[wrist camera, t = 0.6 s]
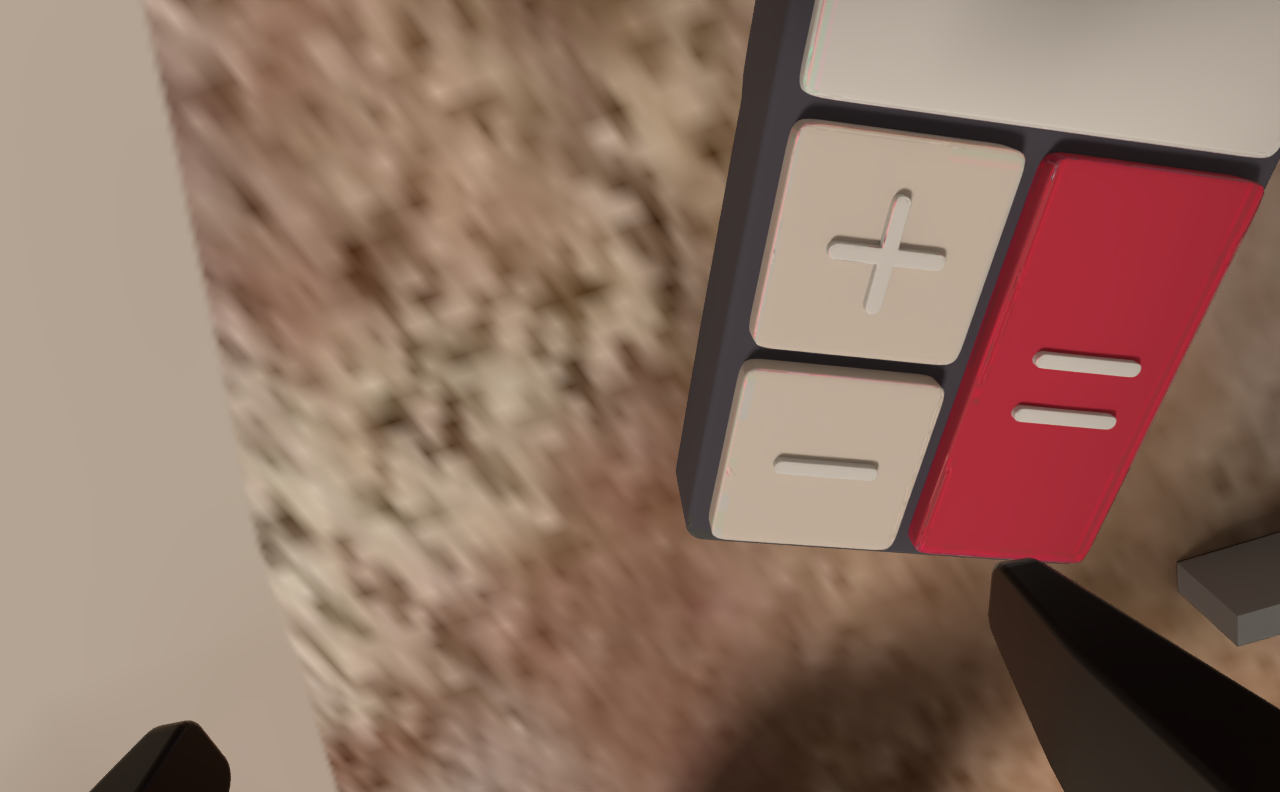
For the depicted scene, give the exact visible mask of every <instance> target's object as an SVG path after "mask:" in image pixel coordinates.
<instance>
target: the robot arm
mask: <svg viewBox="0 0 1280 792" xmlns="http://www.w3.org/2000/svg"><path fill="white" fill-rule="evenodd" d="M988 617H989V623H990V628H991V631H992V634H993V636H994V639H995V641H996V643H997V646H998V648H999V650H1000V652H1001V655H1002V657H1003V659H1004V662H1005V664H1006V666H1007V668H1008V671H1009V673H1010V675H1011V678H1012V680H1013V682H1014V684H1015V687H1016V689H1017V691H1018V694H1019V696H1020V698H1021V700H1022V703H1023V705H1024V707H1025V710H1026V712H1027V714H1028V716H1029V719H1030V721H1031V723H1032V726H1033V728H1034V730H1035V733H1036V735H1037V737H1038V739H1039V742H1040V744H1041V746H1042V748H1043V750H1044V753H1045V755H1046V757H1047V759H1048V761H1049V763H1050V766H1051V768H1052V769H1053V771H1054V773H1055V775H1056V777H1057V779H1058V781H1059V783H1060V784H1061V786H1062V788H1063V790H1064V792H1280V709H1279V708H1277V707H1275V706H1274V705H1272V704H1271V703H1269V702H1267V701H1266V700H1264V699H1262V698H1261V697H1259V696H1258V695H1256V694H1254V693H1253V692H1251V691H1250V690H1248V689H1246V688H1245V687H1243V686H1241V685H1240V684H1238V683H1237V682H1235V681H1233V680H1232V679H1230V678H1229V677H1227V676H1225V675H1224V674H1222V673H1220V672H1219V671H1217V670H1216V669H1214V668H1212V667H1211V666H1209V665H1208V664H1206V663H1204V662H1203V661H1201V660H1200V659H1198V658H1196V657H1195V656H1193V655H1191V654H1190V653H1188V652H1187V651H1185V650H1183V649H1182V648H1180V647H1179V646H1177V645H1175V644H1174V643H1172V642H1170V641H1169V640H1167V639H1166V638H1164V637H1162V636H1161V635H1159V634H1158V633H1156V632H1154V631H1153V630H1151V629H1149V628H1148V627H1146V626H1145V625H1143V624H1141V623H1140V622H1138V621H1137V620H1135V619H1133V618H1132V617H1130V616H1129V615H1127V614H1125V613H1124V612H1122V611H1120V610H1119V609H1117V608H1116V607H1114V606H1112V605H1111V604H1109V603H1108V602H1106V601H1104V600H1103V599H1101V598H1099V597H1098V596H1096V595H1095V594H1093V593H1091V592H1090V591H1088V590H1087V589H1085V588H1083V587H1082V586H1080V585H1079V584H1077V583H1075V582H1074V581H1072V580H1070V579H1069V578H1067V577H1066V576H1064V575H1062V574H1061V573H1059V572H1058V571H1056V570H1054V569H1053V568H1051V567H1049V566H1048V565H1046V564H1045V563H1043V562H1041V561H1039V560H1037V559H1034V558H1030V557H1027V558H1020V559H1015V560H1010V561H1005V562H1000V563H998V564H996V565H995V567H994V568H993V572H992V579H991V589H990V599H989V610H988ZM230 775H231V773H230V767H229V764H228V761H227V760H226V758H225V756H224V755H223V754H222V753H221V751H220V750H219V749H218V748H217V746H216V745H215V744H214V743H213V741H212V740H211V739H210V737H209V736H208V735H207V734H206V732H205V731H204V730H203V729H202V727H201V726H200V725H199V724H198V723H196V722H193V721H181V722H176V723H171V724H166V725H161V726H158V727H156V728H154V729H152V730H151V731H149V732H148V733H147V734H146V735H145V736H144V737H143V738H142V739H141V740H140V741H139V742H138V743H137V744H136V745H135V746H134V747H133V748H132V749H131V750H130V751H129V752H128V753H127V754H126V755H125V756H124V757H123V758H122V759H121V760H120V761H119V762H118V763H117V764H116V765H115V766H114V767H113V768H112V769H111V770H110V771H109V772H108V773H107V774H106V775H105V776H104V777H103V778H102V779H101V780H100V781H99V783H97V785H96V786H95V787H94V788H93V789H92V790H91V791H90V792H229V789H230V781H231V776H230Z"/></svg>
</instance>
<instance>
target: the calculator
mask: <svg viewBox="0 0 1280 792" xmlns="http://www.w3.org/2000/svg"><path fill="white" fill-rule="evenodd" d="M1279 159H1280V0H756V1H755V7H754V13H753V19H752V25H751V30H750V36H749V42H748V48H747V54H746V60H745V67H744V74H743V88H742V100H741V106H740V111H739V117H738V122H737V128H736V133H735V139H734V144H733V150H732V156H731V161H730V167H729V172H728V178H727V183H726V189H725V194H724V200H723V205H722V211H721V216H720V222H719V227H718V233H717V238H716V244H715V249H714V255H713V260H712V266H711V271H710V277H709V282H708V288H707V293H706V299H705V304H704V310H703V315H702V321H701V327H700V332H699V338H698V344H697V350H696V356H695V361H694V367H693V373H692V379H691V384H690V390H689V396H688V402H687V408H686V413H685V419H684V425H683V431H682V437H681V443H680V449H679V455H678V460H677V467H676V475H677V481H678V487H679V492H680V497H681V503H682V508H683V513H684V518H685V522H686V527H687V530H688V532H689V533H690V534H691V535H692V536H694V537H696V538H699V539H708V540H721V541H736V542H750V543H765V544H779V545H794V546H808V547H823V548H837V549H852V550H867V551H881V552H896V553H910V554H925V555H939V556H954V557H968V558H983V559H998V560H1015V559H1020V558H1027V557H1030V558H1034V559H1037V560H1039V561H1041V562H1043V563H1056V564H1070V563H1077V562H1080V561H1082V560H1083V559H1084V558H1085V556H1086V555H1087V553H1088V552H1089V550H1090V548H1091V546H1092V544H1093V542H1094V540H1095V538H1096V536H1097V534H1098V532H1099V530H1100V528H1101V526H1102V524H1103V522H1104V520H1105V518H1106V516H1107V514H1108V512H1109V510H1110V508H1111V506H1112V504H1113V502H1114V500H1115V498H1116V495H1117V493H1118V491H1119V489H1120V487H1121V485H1122V483H1123V481H1124V479H1125V477H1126V475H1127V473H1128V471H1129V469H1130V467H1131V465H1132V463H1133V461H1134V459H1135V457H1136V455H1137V453H1138V451H1139V449H1140V447H1141V445H1142V443H1143V441H1144V439H1145V437H1146V435H1147V433H1148V431H1149V429H1150V427H1151V425H1152V422H1153V420H1154V418H1155V416H1156V414H1157V412H1158V410H1159V408H1160V406H1161V404H1162V402H1163V400H1164V398H1165V396H1166V394H1167V392H1168V390H1169V388H1170V386H1171V384H1172V382H1173V380H1174V378H1175V376H1176V374H1177V372H1178V370H1179V368H1180V366H1181V364H1182V362H1183V360H1184V358H1185V356H1186V354H1187V351H1188V349H1189V347H1190V345H1191V343H1192V341H1193V339H1194V337H1195V335H1196V333H1197V331H1198V329H1199V327H1200V325H1201V323H1202V321H1203V319H1204V317H1205V315H1206V313H1207V311H1208V309H1209V307H1210V305H1211V303H1212V301H1213V299H1214V297H1215V295H1216V293H1217V291H1218V289H1219V287H1220V285H1221V283H1222V280H1223V278H1224V276H1225V274H1226V272H1227V270H1228V268H1229V266H1230V264H1231V262H1232V260H1233V258H1234V256H1235V254H1236V252H1237V250H1238V248H1239V246H1240V244H1241V242H1242V240H1243V238H1244V236H1245V234H1246V232H1247V230H1248V228H1249V226H1250V224H1251V222H1252V220H1253V218H1254V216H1255V214H1256V212H1257V210H1258V207H1259V205H1260V202H1261V200H1262V197H1263V194H1264V189H1265V187H1266V185H1267V183H1268V181H1269V179H1270V177H1271V175H1272V173H1273V171H1274V169H1275V167H1276V165H1277V163H1278V161H1279Z"/></svg>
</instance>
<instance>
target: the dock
mask: <svg viewBox="0 0 1280 792" xmlns="http://www.w3.org/2000/svg"><path fill="white" fill-rule="evenodd" d="M1177 577H1178V592H1179V593H1180V594H1181V595H1182V596H1183V597H1184V598H1185V599H1187V600H1188V601H1189V602H1190V603H1191V604H1192V605H1193V606H1194V607H1195V608H1196V609H1197V610H1198V611H1200V612H1201V613H1202V614H1203V615H1204V616H1205V617H1206V618H1207V619H1208V620H1209V621H1210V622H1211V623H1212V624H1214V625H1215V626H1216V627H1217V628H1218V629H1219V630H1220V631H1221V632H1222V633H1223V634H1224V635H1225V636H1227V637H1228V638H1229V639H1230V640H1231V641H1232V642H1233V643H1234V644H1235V645H1236V646H1237V647H1238V646H1242V645H1245V644H1249V643H1252V642H1256V641H1259V640H1263V639H1266V638H1270V637H1273V636H1277V635H1280V532H1279V533H1276V534H1272V535H1269V536H1266V537H1262V538H1259V539H1256V540H1252V541H1249V542H1245V543H1242V544H1239V545H1235V546H1232V547H1229V548H1225V549H1222V550H1219V551H1215V552H1212V553H1208V554H1205V555H1202V556H1198V557H1195V558H1192V559H1188V560H1185V561H1181V562H1178V563H1177Z"/></svg>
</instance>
